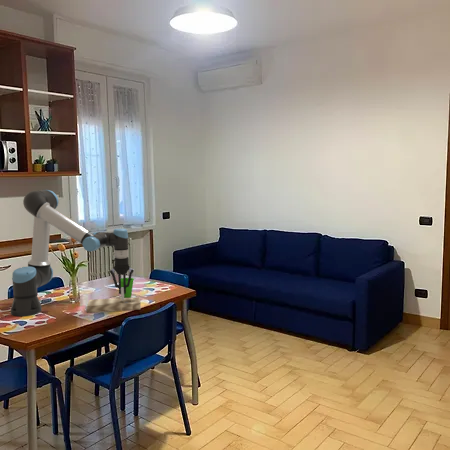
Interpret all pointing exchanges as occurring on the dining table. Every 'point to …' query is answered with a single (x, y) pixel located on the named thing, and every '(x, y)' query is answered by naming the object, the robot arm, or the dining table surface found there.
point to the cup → (128, 288)
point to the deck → (113, 304)
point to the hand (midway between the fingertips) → (122, 299)
